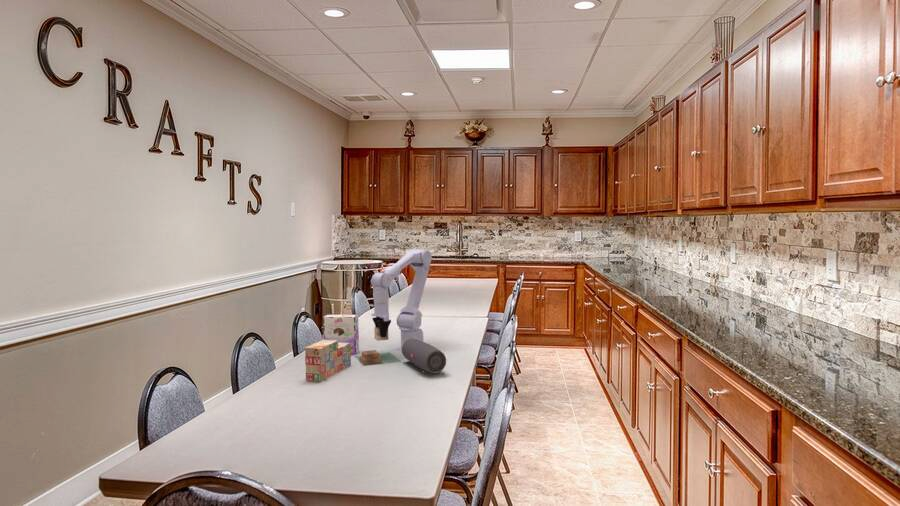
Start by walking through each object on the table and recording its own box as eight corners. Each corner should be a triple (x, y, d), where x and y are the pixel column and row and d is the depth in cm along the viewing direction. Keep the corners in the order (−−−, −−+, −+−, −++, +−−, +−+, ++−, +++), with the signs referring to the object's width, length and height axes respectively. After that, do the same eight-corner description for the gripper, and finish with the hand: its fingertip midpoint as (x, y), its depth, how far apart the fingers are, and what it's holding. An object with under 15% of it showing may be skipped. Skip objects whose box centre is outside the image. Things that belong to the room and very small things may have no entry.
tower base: (376, 359, 220) (376, 354, 220) (381, 363, 214) (381, 358, 214) (359, 361, 217) (359, 356, 217) (364, 365, 211) (364, 360, 211)
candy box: (359, 352, 233) (358, 314, 232) (355, 355, 228) (355, 316, 227) (328, 351, 235) (327, 313, 234) (323, 355, 229) (322, 316, 228)
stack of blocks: (336, 365, 214) (336, 334, 213) (351, 366, 212) (350, 335, 211) (305, 381, 193) (304, 346, 193) (321, 382, 191) (320, 348, 191)
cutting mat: (389, 353, 231) (389, 352, 231) (401, 362, 217) (401, 361, 217) (354, 357, 225) (354, 356, 225) (364, 366, 211) (364, 365, 211)
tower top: (375, 354, 219) (375, 350, 219) (379, 358, 214) (379, 353, 214) (361, 356, 217) (361, 351, 217) (365, 359, 212) (365, 354, 212)
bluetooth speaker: (400, 363, 215) (399, 338, 215) (421, 360, 220) (421, 335, 219) (424, 378, 195) (424, 350, 195) (447, 374, 200) (447, 347, 199)
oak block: (385, 337, 226) (385, 326, 225) (388, 339, 222) (388, 328, 221) (374, 338, 224) (374, 327, 224) (377, 340, 220) (377, 329, 220)
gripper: (367, 300, 227) (367, 333, 228) (376, 305, 214) (377, 340, 215) (383, 299, 230) (383, 331, 231) (394, 304, 216) (394, 338, 217)
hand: (381, 335), depth 223 cm, fingers closed on oak block, 4 cm apart
